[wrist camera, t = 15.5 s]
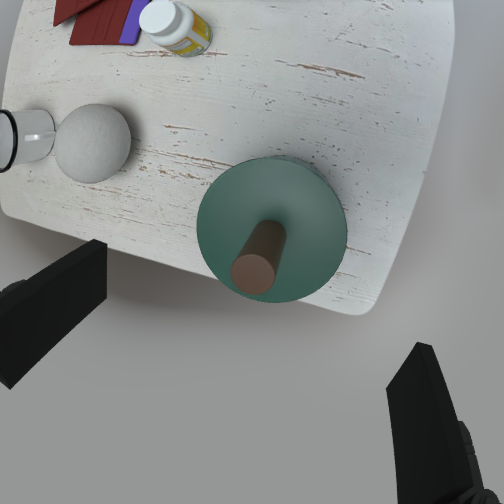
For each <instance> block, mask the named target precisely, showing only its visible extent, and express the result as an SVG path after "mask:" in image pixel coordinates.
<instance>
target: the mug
mask: <svg viewBox="0 0 504 504" xmlns="http://www.w3.org/2000/svg"><path fill="white" fill-rule="evenodd" d="M55 135H56V132H54V124H53V120H52V118H51V116H50V115H49V113H48V112H46V111H45V110H28V111H17V112H9V111H8V110H6V109H1V110H0V173H3V172H6V171H8V170H9V169H10V168H11V167H12V166H15V165H19V164H23V163H27V162H31V161H35V160H39V159H42V158H44V157H46V156H47V154H48V153H49V152H50V150H51V148H52V145H53V141H54V138H55Z"/></svg>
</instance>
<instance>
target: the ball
mask: <svg viewBox="0 0 504 504" xmlns="http://www.w3.org/2000/svg"><path fill="white" fill-rule="evenodd" d="M130 145H131V135H130V130H129V127H128V124H127V122H126V120H125V119H124V117H123V116H122V115H121V114H120V113H119V112H118V111H117V110H115V109H114V108H112V107H109V106H107V105H103V104H88V105H84V106H81V107H79V108H77V109H75V110H74V111H72V112H71V113H70V114H69V115H68V116H67V117H66V118H65V119H64V120H63V121H62V123H61V124H60V126H59V127H58V130H57V132H56V135H55V140H54V154H55V158H56V161H57V164H58V166H59V168H60V169H61V171H62V172H63V173H64V174H65V175H66V176H68V177H69V178H71V179H72V180H75V181H77V182H80V183H86V184H92V183H98V182H101V181H104V180H106V179H108V178H110V177H111V176H113V175H114V174H115V173H116V172H117V171H118V170H119V169H120V168H121V167H122V166H123V164H124V163H125V161H126V159H127V157H128V154H129V151H130Z"/></svg>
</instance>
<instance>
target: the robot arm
mask: <svg viewBox="0 0 504 504" xmlns="http://www.w3.org/2000/svg"><path fill="white" fill-rule="evenodd" d="M106 298H107V244H106V243H104V242H101V241H98V240H96V239H92V240H91V241H89V242H87V243H86V244H84V245H82V246H80V247H79V248H77V249H75V250H74V251H72V252H70V253H69V254H67V255H65V256H64V257H62V258H60V259H59V260H57V261H56V262H54V263H52V264H51V265H49V266H48V267H46V268H44V269H43V270H41V271H40V272H38V273H37V274H35V275H33V276H32V277H30V278H29V279H28V280H21V281H18V282H15V283H12V284H10V285H9V286H7V287H6V288H4V289H3V290H2V292H1V291H0V382H1V383H2V384H4V385H5V386H6V387H7V388H8V389H10V390H11V388H12V387H13V386H14V385H15V384H16V383H17V382H18V381H19V380H20V379H21V378H22V377H23V376H24V375H25V374H26V373H27V372H28V371H29V370H30V369H31V368H32V367H33V366H34V365H35V364H36V363H37V362H38V361H40V360H41V358H43V357H44V356H45V355H46V354H47V353H48V352H49V351H50V350H51V349H52V348H53V347H54V346H55V345H56V344H57V343H58V342H59V341H60V340H61V339H62V338H64V337H65V336H66V335H67V334H68V333H69V332H70V331H71V330H72V329H73V328H74V327H75V326H76V325H77V324H79V323H80V322H81V321H82V320H83V319H84V318H85V317H86V316H87V315H88V314H90V313H91V312H92V311H93V310H94V309H95V308H96V307H97V306H98V305H100V303H102V302H103V301H104V300H105V299H106ZM386 392H387V399H388V405H389V413H390V420H391V428H392V436H393V446H394V456H395V467H396V480H397V498H398V504H501V503H499V500H498V498H497V495H496V494H495V493H494V492H493V491H491V490H489V489H484V487H483V482H482V478H481V473H480V469H479V465H478V461H477V458H476V455H475V450H474V446H472V444H473V443H472V439H471V436H470V432H469V431H468V429H467V427H466V426H465V424H464V423H463V422H462V421H458V420H457V416H456V413H455V410H454V407H453V403H452V400H451V397H450V394H449V391H448V388H447V385H446V382H445V380H444V377H443V374H442V371H441V369H440V366H439V363H438V361H437V358H436V355H435V353H434V350H433V348H432V346H431V345H428V344H424V343H420V342H417V343H416V344H415V346H414V347H413V349H412V351H411V352H410V354H409V355H408V357H407V358H406V360H405V361H404V363H403V364H402V366H401V368H400V369H399V370H398V372H397V373H396V375H395V376H394V378H393V379H392V381H391V382H390V383H389V385H388V386H387V388H386Z"/></svg>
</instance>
